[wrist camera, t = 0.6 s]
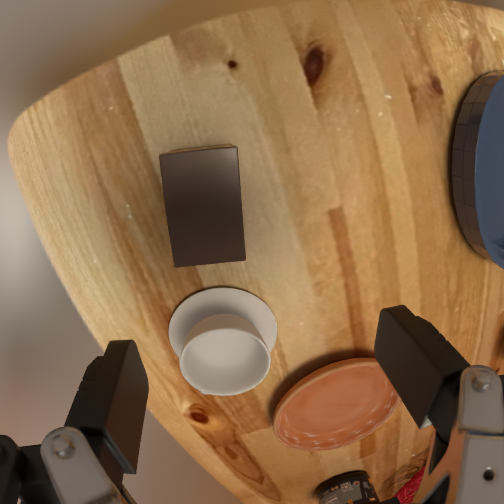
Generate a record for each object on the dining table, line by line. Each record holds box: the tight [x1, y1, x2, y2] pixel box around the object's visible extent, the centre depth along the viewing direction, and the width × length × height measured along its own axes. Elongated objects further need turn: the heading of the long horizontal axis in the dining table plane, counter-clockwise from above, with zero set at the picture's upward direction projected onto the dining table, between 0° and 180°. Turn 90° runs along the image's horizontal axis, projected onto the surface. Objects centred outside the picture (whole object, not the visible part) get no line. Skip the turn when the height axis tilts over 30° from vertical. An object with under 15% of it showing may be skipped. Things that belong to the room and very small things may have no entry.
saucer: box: [273, 358, 401, 452], centre depth 32 cm, size 16×16×3 cm
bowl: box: [392, 467, 425, 504], centre depth 48 cm, size 29×30×5 cm
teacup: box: [169, 288, 277, 396], centre depth 26 cm, size 10×10×5 cm
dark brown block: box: [159, 144, 246, 267], centre depth 21 cm, size 7×4×6 cm, turn 4°
